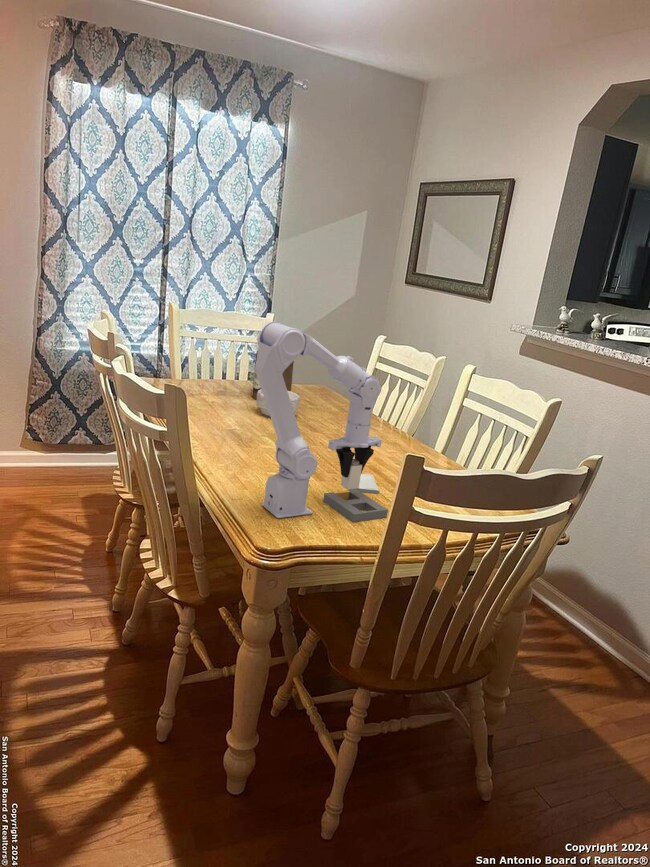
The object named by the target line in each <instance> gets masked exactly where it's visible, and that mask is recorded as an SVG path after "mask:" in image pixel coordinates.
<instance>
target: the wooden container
mask: <svg viewBox="0 0 650 867" xmlns="http://www.w3.org/2000/svg"><path fill="white" fill-rule="evenodd" d="M257 353H258V350H256V354H255V355H256V356H255V361H256V360H257ZM294 363H295V360H294V361H293V362H292V363H291V364H290V365H289V366H288V367H287V368H286V369H285V370H284V372H283V374H282V375H283V378H284V382H285V385H286V388H287V391H290V392H292V384H293V383H292V382H293V372H294ZM255 368H256V363H255V366H254V374H253V381H252V393H251V398H252V399H253V400H255V401H256V400H257V392H258V391H259V390H260V389H261V386H260V383H259V380H258V377H257V374H256V370H255Z"/></svg>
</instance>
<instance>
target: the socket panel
mask: <svg viewBox="0 0 650 867" xmlns="http://www.w3.org/2000/svg"><path fill="white" fill-rule="evenodd" d="M322 501H323V502H324V503H326V504H327V505H328V506H330V507H331V508H332V509H334V510H335V511H336V512H338V513H339V514H341V515H342V516H343V517H345V518H346V519H348V520H349V521H351V522H352V523H358V522H363V521H372V520H378V519H379V520H380V519H385V518H387V517H388V512H389V509H387V508H386V507H385V506H383V505H381V504H380V503H378V502H377V501H375V500H373V499H372V498H371V497H369V496H368V495H366V494H365V493H361V492H360V491H358V490H349V491H348V490H343V491H334V492H326V493H323V498H322Z"/></svg>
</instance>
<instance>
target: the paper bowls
mask: <svg viewBox="0 0 650 867" xmlns="http://www.w3.org/2000/svg"><path fill="white" fill-rule="evenodd" d="M288 395H289V398H290V401H291V404H292V408H293V411H294V413H295V412H297V411H298V410H299V405H300V399H301V396H300V395H299V394H298V393H296V392H294V391H291V392H290V391H288ZM255 401H256V406H257V407H258V408H260V410H261V412H262V414H263V415H265V416H267V417H268V418H269V417H270V414H269V411H268V408H267V405H266V401H265V398H264V395H263V392H262V389H260V390H259V391H258V392H257V400H255ZM270 418H271V417H270Z"/></svg>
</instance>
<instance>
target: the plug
mask: <svg viewBox="0 0 650 867" xmlns="http://www.w3.org/2000/svg"><path fill="white" fill-rule="evenodd" d="M361 470H362V465H361V464H359V461H357V460H356V459H355V458H353V460H352V462H351V466H350V472H349V475H348V477H344V476H342V475H341V479H340V480H341V481H340V486H342V487H343V488H345V489H347V491H348V490H349V489H357V488H359V483H360V477H361Z"/></svg>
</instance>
